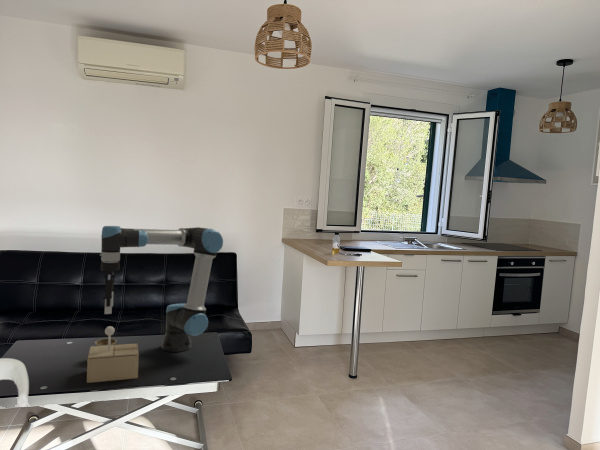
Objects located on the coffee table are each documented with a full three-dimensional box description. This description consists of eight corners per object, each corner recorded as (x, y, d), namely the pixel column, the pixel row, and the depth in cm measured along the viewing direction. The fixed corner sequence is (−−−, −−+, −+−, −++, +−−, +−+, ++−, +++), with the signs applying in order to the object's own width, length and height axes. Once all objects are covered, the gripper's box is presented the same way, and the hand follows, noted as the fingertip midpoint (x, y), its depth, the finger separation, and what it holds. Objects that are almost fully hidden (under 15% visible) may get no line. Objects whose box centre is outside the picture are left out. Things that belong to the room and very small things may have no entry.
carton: (137, 366, 203) (138, 343, 202) (137, 378, 190) (138, 353, 189) (89, 370, 195) (90, 346, 195) (86, 382, 182) (87, 356, 182)
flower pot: (108, 363, 204) (108, 345, 203) (90, 361, 206) (90, 343, 205) (120, 357, 213) (120, 339, 213) (102, 354, 215) (103, 337, 215)
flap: (114, 346, 198) (115, 321, 198) (113, 356, 186) (114, 330, 185) (90, 347, 195) (91, 323, 194) (88, 358, 182) (88, 331, 181)
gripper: (102, 257, 200) (101, 303, 201) (98, 265, 177) (97, 317, 178) (120, 257, 203) (119, 302, 204) (118, 265, 179) (117, 316, 180)
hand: (108, 309), depth 191 cm, fingers open, 13 cm apart
